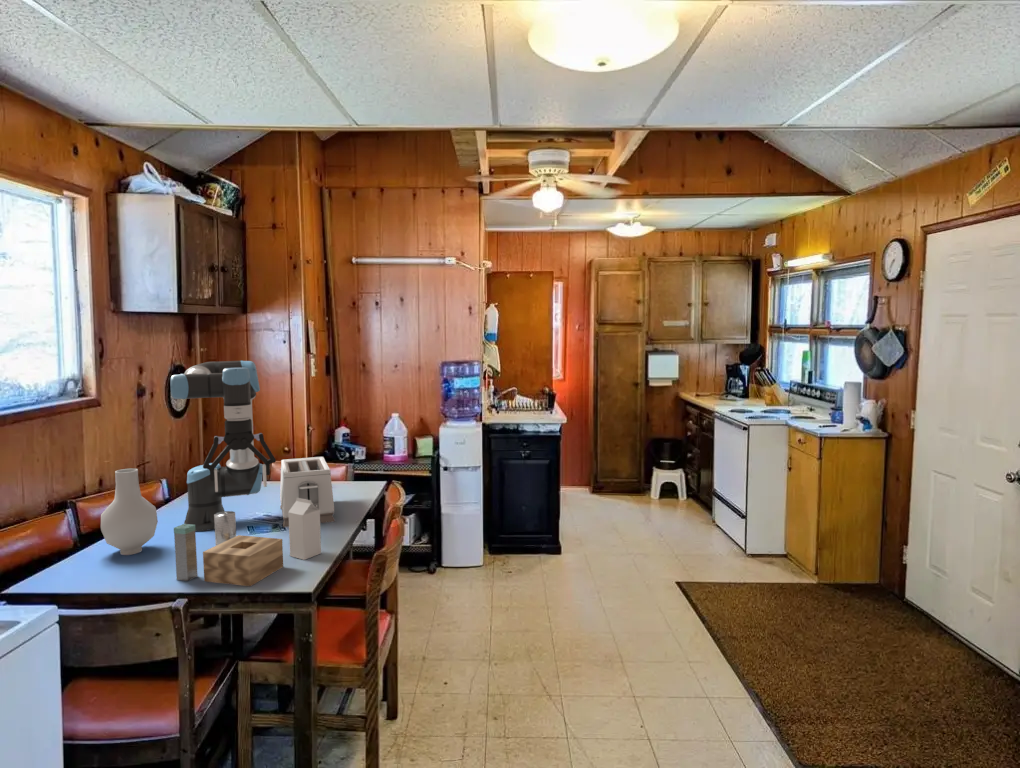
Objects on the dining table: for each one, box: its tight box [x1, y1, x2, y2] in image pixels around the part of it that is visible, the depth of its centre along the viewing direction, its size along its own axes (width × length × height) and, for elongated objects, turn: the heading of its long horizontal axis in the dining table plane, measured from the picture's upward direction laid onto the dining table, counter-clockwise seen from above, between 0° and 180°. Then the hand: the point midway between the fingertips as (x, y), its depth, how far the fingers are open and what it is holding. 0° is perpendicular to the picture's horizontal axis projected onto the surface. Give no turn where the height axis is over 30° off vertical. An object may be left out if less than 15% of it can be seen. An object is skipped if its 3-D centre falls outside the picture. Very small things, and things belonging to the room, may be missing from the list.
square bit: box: [173, 523, 199, 582], centre depth 193 cm, size 4×4×16 cm
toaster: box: [279, 456, 336, 528], centre depth 259 cm, size 19×34×21 cm, turn 22°
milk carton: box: [288, 498, 322, 561], centre depth 212 cm, size 7×7×19 cm
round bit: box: [214, 510, 237, 546], centre depth 213 cm, size 6×6×14 cm
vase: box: [100, 468, 159, 556], centre depth 216 cm, size 17×16×28 cm
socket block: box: [202, 534, 284, 587], centre depth 196 cm, size 16×16×9 cm
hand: (241, 488), depth 194 cm, fingers open, 13 cm apart
